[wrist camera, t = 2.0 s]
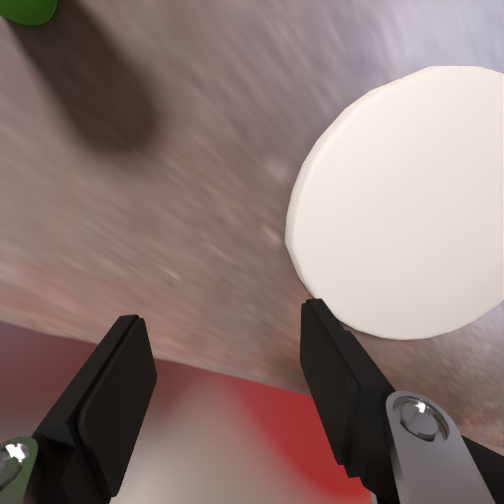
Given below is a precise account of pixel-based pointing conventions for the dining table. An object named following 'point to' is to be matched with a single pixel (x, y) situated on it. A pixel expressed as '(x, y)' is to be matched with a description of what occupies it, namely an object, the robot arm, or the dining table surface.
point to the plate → (406, 206)
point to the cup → (28, 11)
